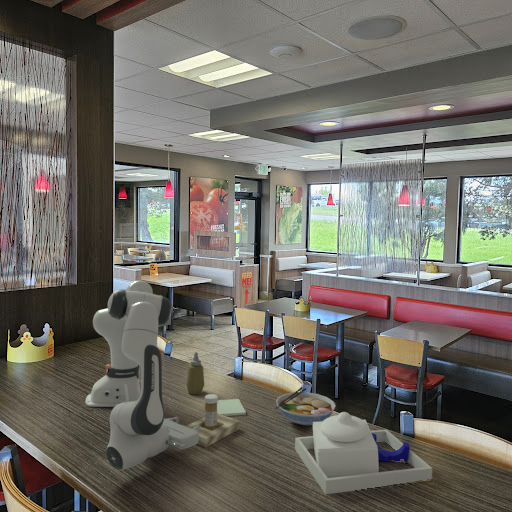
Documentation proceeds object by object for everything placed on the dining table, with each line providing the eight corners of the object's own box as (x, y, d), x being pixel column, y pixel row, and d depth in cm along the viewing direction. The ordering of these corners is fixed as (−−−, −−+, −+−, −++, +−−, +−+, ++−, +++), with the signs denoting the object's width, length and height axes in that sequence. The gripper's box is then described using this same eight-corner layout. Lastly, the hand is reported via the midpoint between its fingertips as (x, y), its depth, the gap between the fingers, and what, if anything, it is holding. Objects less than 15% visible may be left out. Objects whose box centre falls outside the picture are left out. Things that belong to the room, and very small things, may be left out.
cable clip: (368, 456, 144) (372, 439, 143) (367, 449, 148) (371, 432, 148) (406, 467, 142) (410, 449, 141) (404, 460, 146) (408, 443, 146)
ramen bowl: (319, 442, 156) (319, 419, 155) (262, 425, 168) (263, 404, 167) (344, 417, 177) (345, 397, 177) (293, 404, 189) (294, 385, 189)
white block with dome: (319, 478, 133) (316, 427, 132) (313, 447, 151) (311, 401, 150) (379, 476, 132) (376, 424, 131) (366, 444, 150) (364, 399, 149)
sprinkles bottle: (211, 428, 164) (212, 392, 163) (219, 433, 161) (220, 396, 160) (201, 432, 160) (202, 395, 160) (209, 437, 157) (210, 399, 156)
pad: (210, 417, 174) (210, 414, 174) (205, 403, 187) (205, 401, 187) (245, 414, 177) (246, 412, 177) (238, 401, 191) (238, 398, 190)
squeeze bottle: (182, 393, 197) (183, 353, 196) (191, 388, 204) (192, 349, 203) (198, 397, 194) (199, 356, 193) (207, 391, 201) (208, 351, 200)
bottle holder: (205, 447, 150) (206, 438, 150) (180, 436, 157) (180, 428, 157) (239, 428, 164) (239, 420, 164) (214, 419, 171) (214, 412, 171)
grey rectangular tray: (325, 494, 125) (326, 480, 125) (294, 449, 150) (295, 437, 150) (431, 481, 134) (432, 468, 133) (385, 440, 159) (386, 429, 159)
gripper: (180, 438, 133) (211, 423, 144) (135, 419, 145) (167, 406, 156) (179, 459, 134) (210, 442, 145) (134, 438, 146) (166, 424, 157)
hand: (187, 423), depth 151 cm, fingers open, 8 cm apart
